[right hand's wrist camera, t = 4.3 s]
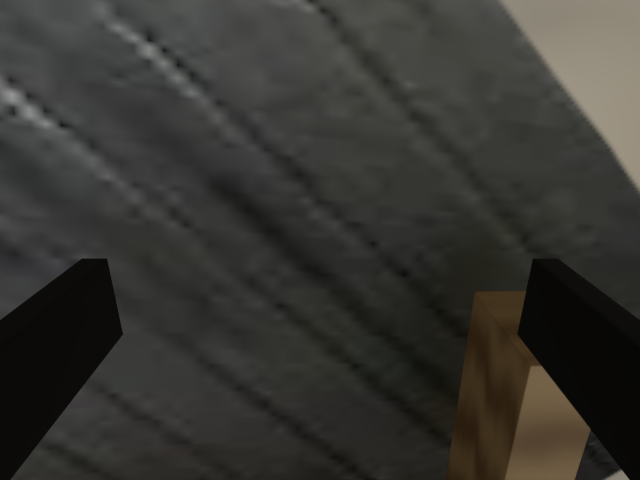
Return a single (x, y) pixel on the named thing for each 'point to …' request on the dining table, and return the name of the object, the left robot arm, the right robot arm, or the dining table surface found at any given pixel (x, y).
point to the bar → (510, 404)
